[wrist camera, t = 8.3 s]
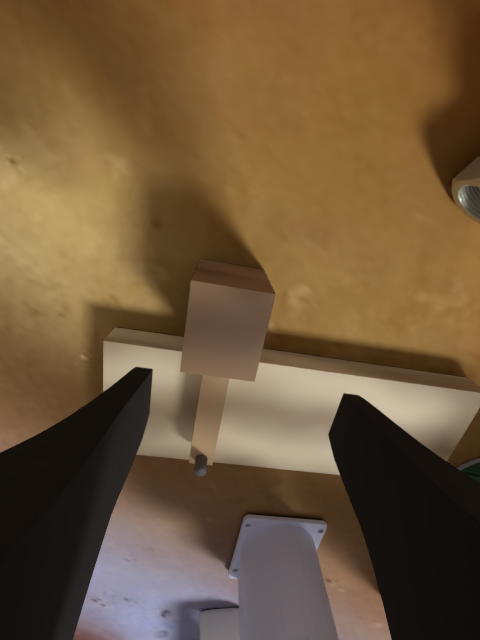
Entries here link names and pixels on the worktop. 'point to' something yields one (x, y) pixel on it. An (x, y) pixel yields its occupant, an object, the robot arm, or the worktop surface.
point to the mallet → (222, 342)
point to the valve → (468, 190)
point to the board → (286, 403)
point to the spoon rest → (219, 624)
